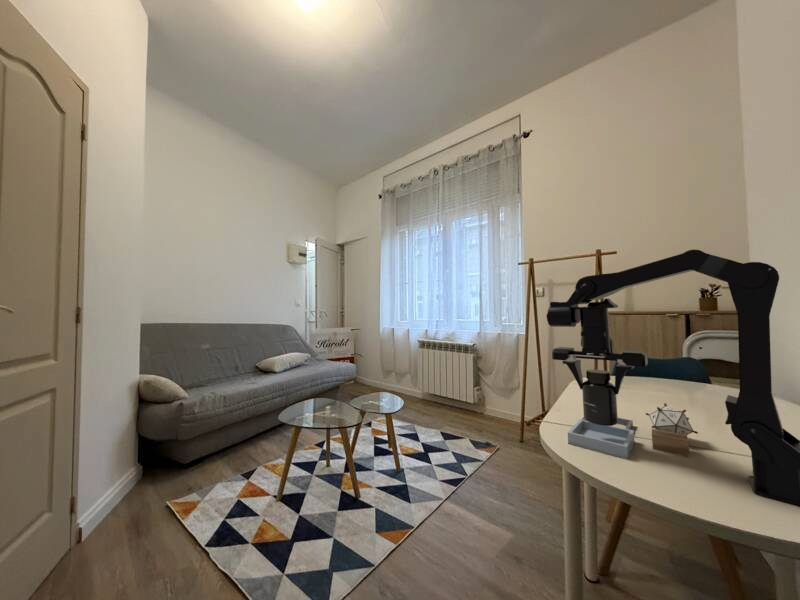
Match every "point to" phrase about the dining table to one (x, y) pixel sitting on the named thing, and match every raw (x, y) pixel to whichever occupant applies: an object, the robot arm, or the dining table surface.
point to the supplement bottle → (599, 398)
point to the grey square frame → (622, 422)
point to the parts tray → (602, 438)
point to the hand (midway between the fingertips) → (598, 391)
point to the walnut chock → (670, 442)
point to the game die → (671, 420)
